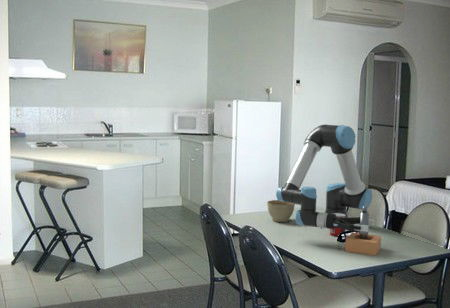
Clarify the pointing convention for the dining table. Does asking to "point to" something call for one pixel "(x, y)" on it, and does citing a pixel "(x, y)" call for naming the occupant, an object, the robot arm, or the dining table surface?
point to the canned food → (337, 230)
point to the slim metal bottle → (364, 223)
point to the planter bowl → (280, 210)
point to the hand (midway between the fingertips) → (371, 225)
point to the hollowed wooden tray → (363, 244)
